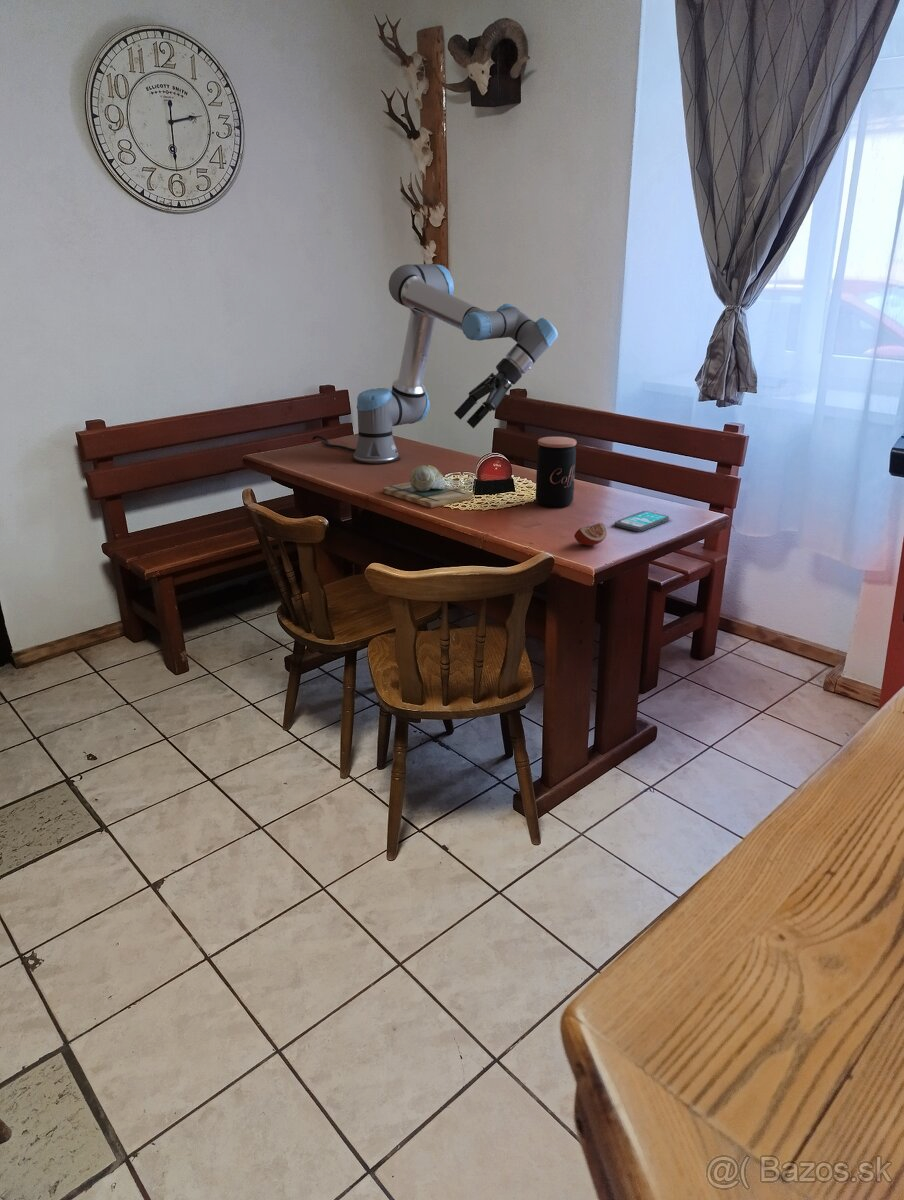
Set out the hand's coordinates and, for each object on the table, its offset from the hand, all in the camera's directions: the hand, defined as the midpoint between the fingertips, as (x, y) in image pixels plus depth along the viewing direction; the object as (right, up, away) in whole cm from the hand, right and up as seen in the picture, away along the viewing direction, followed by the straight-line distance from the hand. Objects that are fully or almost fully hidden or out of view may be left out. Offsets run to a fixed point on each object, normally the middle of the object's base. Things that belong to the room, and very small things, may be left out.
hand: (463, 420), depth 237 cm
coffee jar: (+26, -25, -6) cm, 36 cm away
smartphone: (+47, -32, -23) cm, 61 cm away
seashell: (-11, -20, +2) cm, 23 cm away
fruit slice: (+30, -39, -39) cm, 63 cm away
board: (-11, -21, +2) cm, 24 cm away
